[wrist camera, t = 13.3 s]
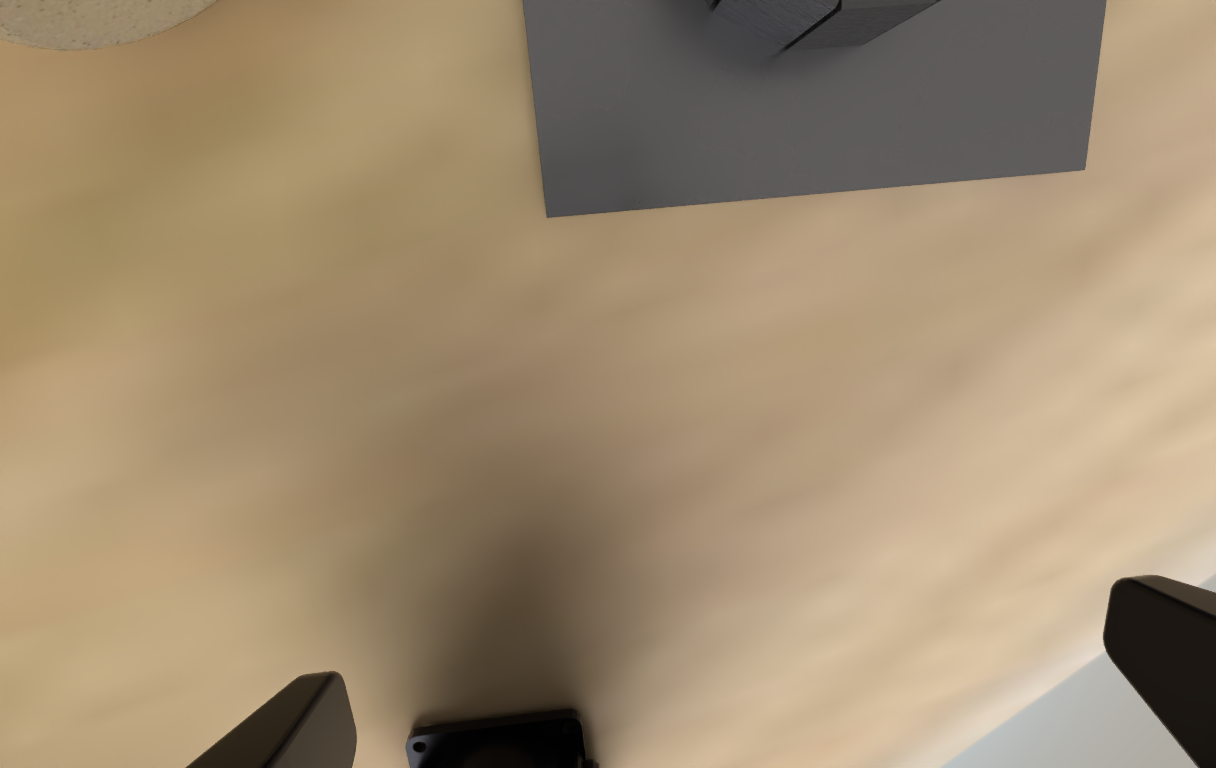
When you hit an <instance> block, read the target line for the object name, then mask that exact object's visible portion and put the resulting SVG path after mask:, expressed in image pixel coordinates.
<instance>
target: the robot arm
mask: <svg viewBox="0 0 1216 768" xmlns="http://www.w3.org/2000/svg"><path fill="white" fill-rule="evenodd" d="M1103 642H1104V646H1105V649H1106V652H1107V653H1108V655H1109V657H1110V658H1111V660H1112V662H1113V663H1114V664H1115V665H1116V667H1117V668H1118V669H1119V670H1120V672H1121V673H1122V674H1123V675H1124V677H1125V678H1126V679H1127V680H1128V681H1129V683H1130V684H1131V685H1132V686H1133V688H1134V689H1135V690H1136V691H1137V693H1138V694H1139V695H1140V696H1141V698H1142V699H1143V700H1144V701H1145V703H1146V704H1147V705H1148V706H1149V708H1150V709H1151V710H1152V711H1153V712H1154V714H1155V715H1156V716H1157V717H1158V718H1159V720H1160V721H1161V722H1162V724H1163V725H1164V726H1165V727H1166V729H1167V730H1168V731H1169V732H1170V734H1171V735H1172V736H1173V737H1174V739H1175V740H1176V741H1177V742H1178V744H1179V745H1180V746H1181V747H1182V748H1183V750H1184V751H1185V752H1186V753H1187V755H1188V756H1189V757H1190V758H1191V760H1192V761H1193V762H1194V763H1195V765H1196V766H1197V767H1198V768H1216V593H1215V592H1212V591H1209V590H1205V589H1202V588H1199V587H1195V586H1192V585H1189V584H1186V583H1182V582H1179V581H1176V580H1172V579H1169V578H1166V577H1162V576H1158V575H1143V576H1135V577H1126V578H1121V579H1119V580H1117V581H1116V582H1115V583H1114V584H1113V586H1112V588H1111V591H1110V597H1109V603H1108V608H1107V614H1106V620H1105V626H1104V632H1103ZM566 723H572V725H565V724H566ZM418 742H423V744H422V743H418ZM356 743H357V735H356V727H355V723H354V718H353V714H352V710H351V706H350V702H349V698H348V694H347V690H346V686H345V683H344V680H343V678H342V676H341V675H340V674H339V673H338V672H335V671H329V672H320V673H312V674H305V675H301V676H299V677H298V678H296V679H295V680H293V681H292V682H291V683H290V684H288V685H287V686H286V687H285V688H283V689H282V690H281V691H280V692H278V693H277V694H276V695H275V696H274V697H272V698H271V699H270V700H269V701H267V702H266V703H265V704H264V705H262V706H261V707H260V708H259V709H257V710H256V711H255V712H254V713H252V714H251V715H250V716H249V717H248V718H246V719H245V720H244V721H243V722H241V723H240V724H239V725H238V726H236V727H235V728H234V729H233V730H231V731H230V732H229V733H228V734H227V735H225V736H224V737H223V738H222V739H220V740H219V741H218V742H217V743H215V744H214V745H213V746H212V747H210V748H209V749H208V750H207V751H205V752H204V753H203V754H202V755H201V756H199V757H198V758H197V759H196V760H194V761H193V762H192V763H191V764H189V765H188V766H187V767H186V768H352V765H353V761H354V757H355V751H356ZM406 752H407V756H408V761H409V765H410V768H599V764H598V763H597V762H596V761H595V760H594V759H587V757H586V749H585V740H584V732H583V724H582V717H581V715H580V713H578V712H577V711H575V710H573V709H564V710H556V711H548V712H540V713H532V714H524V715H516V716H508V717H500V718H492V719H483V720H475V721H467V722H459V723H451V724H443V725H435V726H427V727H419V728H416V729H414V730H412V731H411V732H410V734H409V736H408V740H407V743H406Z"/></svg>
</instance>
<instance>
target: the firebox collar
mask: <svg viewBox="0 0 1216 768" xmlns="http://www.w3.org/2000/svg"><path fill="white" fill-rule="evenodd" d="M523 5H524V14H525V23H526V32H527V41H528V51H529V60H530V69H531V78H532V87H533V96H534V106H535V115H536V124H537V133H538V142H539V151H540V160H541V170H542V179H543V188H544V197H545V206H546V215H547V218H550V217H561V216H573V215H584V214H595V213H606V212H618V211H629V210H640V209H651V208H663V207H674V206H685V205H697V204H708V203H719V202H730V201H742V200H753V199H764V198H776V197H787V196H798V195H809V194H821V193H832V192H843V191H855V190H866V189H877V188H888V187H900V186H911V185H922V184H933V183H945V182H956V181H967V180H979V179H990V178H1001V177H1012V176H1024V175H1035V174H1046V173H1058V172H1069V171H1080V170H1085V166H1086V158H1087V150H1088V142H1089V134H1090V127H1091V119H1092V111H1093V103H1094V95H1095V87H1096V79H1097V71H1098V63H1099V56H1100V48H1101V40H1102V32H1103V24H1104V16H1105V8H1106V0H523Z"/></svg>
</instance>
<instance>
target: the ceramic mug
mask: <svg viewBox="0 0 1216 768" xmlns="http://www.w3.org/2000/svg"><path fill="white" fill-rule="evenodd" d="M216 1H217V0H0V39H1V40H4V41H7V42H10V43H13V44H18V45H23V46H28V47H33V48H40V49H49V50H59V51H77V50H95V49H101V48H106V47H111V46H117V45H122V44H128V43H132V42H135V41H139V40H142V39H145V38H148V37H151V36H155V35H158V34H160V33H162V32H164V31H166V30H168V29H170V28H172V27H174V26H176V25H178V24H180V23H183V22H185V21H187V20H189V19H191V18H193V17H195V16H196V15H198V14H199V13H200V12H202V11H203V10H205V9H206V8H207V7H209V6H210V5H212V4H213V3H214V2H216Z"/></svg>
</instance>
